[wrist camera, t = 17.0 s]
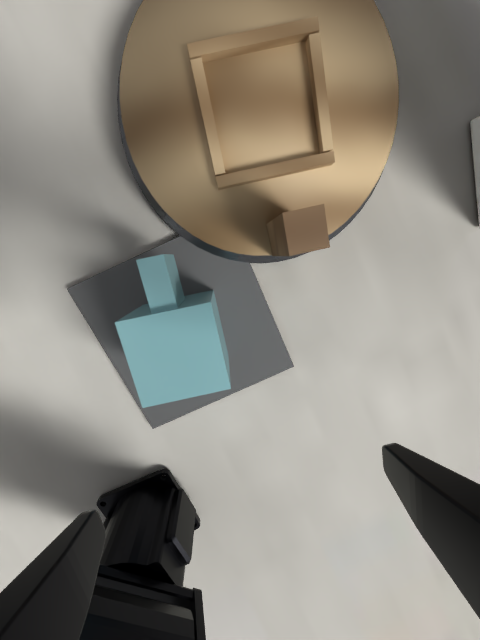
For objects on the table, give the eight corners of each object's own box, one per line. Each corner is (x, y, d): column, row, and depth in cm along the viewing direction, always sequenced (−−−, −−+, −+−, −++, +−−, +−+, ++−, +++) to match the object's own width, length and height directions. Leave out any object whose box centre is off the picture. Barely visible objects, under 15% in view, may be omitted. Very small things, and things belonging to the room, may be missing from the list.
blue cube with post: (228, 355, 20) (230, 388, 15) (162, 369, 20) (142, 408, 15) (204, 249, 18) (197, 246, 13) (131, 264, 18) (96, 267, 13)
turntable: (399, 227, 18) (469, 215, 13) (168, 278, 18) (146, 288, 13) (378, -81, 14) (465, -268, 9) (84, -21, 14) (6, -178, 9)
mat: (154, 425, 21) (152, 428, 21) (69, 288, 19) (66, 289, 18) (292, 364, 21) (294, 366, 21) (228, 214, 18) (228, 213, 18)
